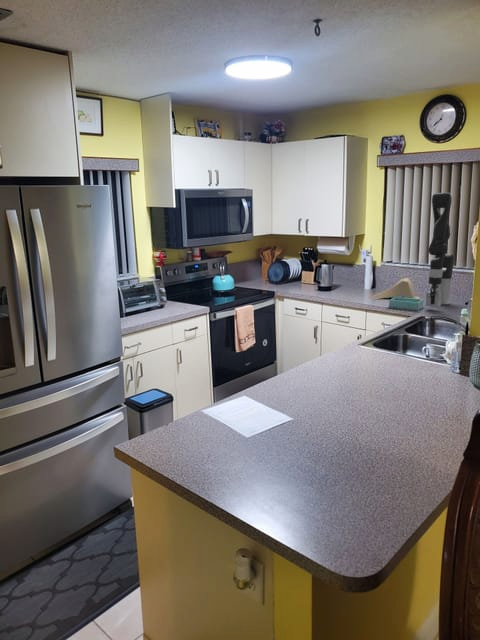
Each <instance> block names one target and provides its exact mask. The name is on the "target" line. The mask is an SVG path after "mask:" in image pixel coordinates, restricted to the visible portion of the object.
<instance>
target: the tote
mask: <svg viewBox="0 0 480 640" xmlns="http://www.w3.org/2000/svg"><path fill="white" fill-rule="evenodd" d="M423 307H424V299H422V298H420V299H414V298H405V297H403V296H400V297H391V299H389V301H388V309H396V310H397V309H398V310H405V311H415V312H418V311H420V310H421V309H422V308H423Z"/></svg>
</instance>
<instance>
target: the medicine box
mask: <svg viewBox="0 0 480 640" xmlns="http://www.w3.org/2000/svg"><path fill="white" fill-rule="evenodd" d="M425 296H426V297H425V306H426V307H433V308H439V307H441V305H442V304H441V293H439V292H437V293H436V295H435V303H434V304H431V297H430V291H427V292H426V294H425ZM432 296H434V294H432Z"/></svg>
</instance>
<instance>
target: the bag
mask: <svg viewBox="0 0 480 640" xmlns="http://www.w3.org/2000/svg"><path fill="white" fill-rule="evenodd" d="M394 297H403V298H414V299H421V297H420V296H416V295H415V290H414V285H413V283H412V281H411V280H410V279H409V278H408V277H405V278H401V279H399V280H398V281H397V282H396V283H395V284H394V285H393V286H391V287H390V288H388V289H385V290H384V291H381V292H379V293H376V294H373V295H371V296H368V298H369V299H371V300H380V299H385V298H386V299H387V298H394Z"/></svg>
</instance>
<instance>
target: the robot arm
mask: <svg viewBox="0 0 480 640" xmlns="http://www.w3.org/2000/svg"><path fill="white" fill-rule="evenodd" d="M452 201H453V199H452V193H451V192H447V191H446V192H436V193H433V194H432V197H431V205H432V213H433V224H434V225H433V232H432V238H431V242H430V244H429V246H428V250H427V251H428V254H429V255H430V256H435V258H433V259H431V260H430V266H429V273H428V284H430V285H431V286H430V289H429V290H430V291H429V292H430V297H431V304H434V303H435V295H436V293H437V292H439V293H441V305H449V304H450V296H451V287H452V286H451V285H452V278H453V270H454V263H455V257H454V254H452V253H447V252H448V246H447V244H446V243H447V242H448V241H449V239H450V237H451V228H450V224H449V222H448V219H449V216H450V211H451V207H452ZM440 209H444V210H443V213H441V210H440ZM444 268H445V270H444V271H443V269H444ZM432 294H434V296H432Z"/></svg>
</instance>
